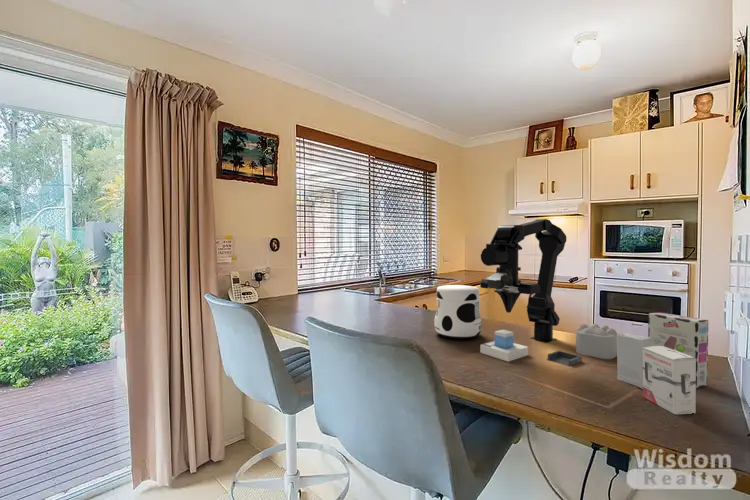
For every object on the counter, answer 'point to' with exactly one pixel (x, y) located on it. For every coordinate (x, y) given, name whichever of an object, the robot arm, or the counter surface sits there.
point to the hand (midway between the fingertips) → (508, 312)
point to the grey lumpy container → (596, 341)
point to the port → (504, 351)
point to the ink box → (669, 379)
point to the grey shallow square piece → (564, 358)
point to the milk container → (458, 312)
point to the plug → (504, 339)
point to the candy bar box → (682, 338)
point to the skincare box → (631, 358)
